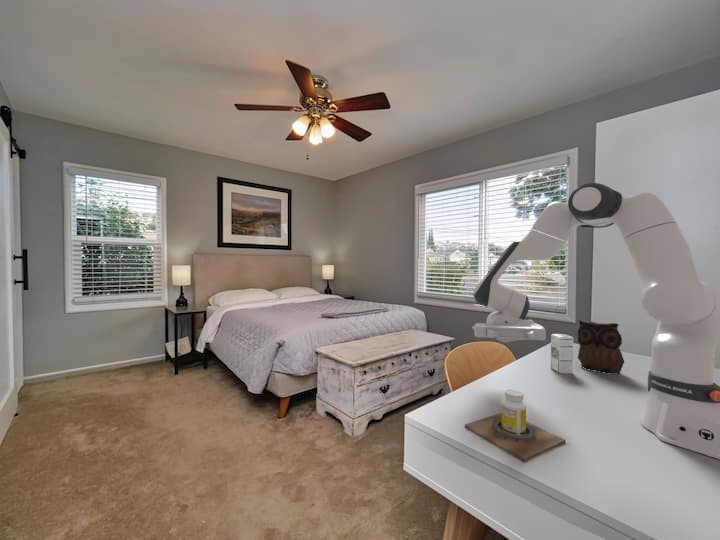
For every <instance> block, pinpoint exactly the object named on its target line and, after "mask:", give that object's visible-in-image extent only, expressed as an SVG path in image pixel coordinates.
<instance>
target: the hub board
mask: <svg viewBox="0 0 720 540" xmlns="http://www.w3.org/2000/svg"><path fill="white" fill-rule="evenodd" d="M464 427H465V428H466V429H467V430H470V431H471V432H473V433H474V434H476V435H478V436H479V437H480V438H483V439H484V440H486V441H488V442H489V443H491V444H493V445H494V446H496V447H498V448H499V449H501V450H502V451H504V452H506V453H508V454H509V455H511V454H512V455H511V456H513V457H514V456H515V457H514V458H516V459H518V460H520V461H521V462H523V463H524V462H525V463H526V462H527V461H530V460H531V459H533V458H535V457H538V456H539V455H541V454H544V453H546V452H548V451H550V450H552V449H554V448H556V447H560V445H562V444H565V443H566V439H565V438H562V437H560V436H558V435H556V434H554V433H552V432H551V431H548V430H546V429H544V428H541V427H539V426H537V425H535V424H533V423H530V422H528V421H527V420H526V434H525V436H516V435H512V434H508V433H506V432H504V431H503V430H502V412H499V413H496V414H493V415H490V416H487V417H484V418H481V419H478V420H474V421H472V422H468V423H466V424H464Z"/></svg>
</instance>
